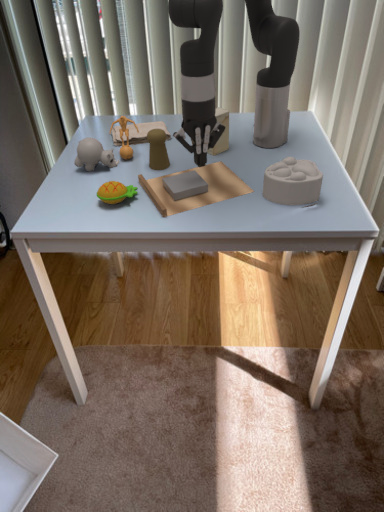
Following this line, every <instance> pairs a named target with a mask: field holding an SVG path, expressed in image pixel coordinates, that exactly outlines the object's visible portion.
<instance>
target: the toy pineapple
mask: <svg viewBox="0 0 384 512" xmlns="http://www.w3.org/2000/svg"><path fill="white" fill-rule="evenodd" d="M138 189H139V188H138V187H137V186H134V185H133V184H130V185H127V186H126V185H125V184H124V183H122V182H120V181H116V180H109V181H107V182H105V183H104V182H103V184H101V185H100V186H99V187H98V189H97V192H96V197H97V198H98V199H99V200H100V201H101V202H103V203H105V204H107V205H108V204H110V205H117V204H118V203H121V202H123V201H125V199H126V198H133V196H135V195H138Z"/></svg>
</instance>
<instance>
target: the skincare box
mask: <svg viewBox="0 0 384 512" xmlns="http://www.w3.org/2000/svg"><path fill="white" fill-rule="evenodd" d="M215 117H216V119H217V122H220V123H221V124H223V125H224V126H225V130H224V132H223V133H222V135H221V137H220V138H219V140H218V141H217V143H216V145H215V146H214V148H210V149H208V151H207V154H209V155H212V156H217V155H219V154H221V153H223V152H226V151H227V150H229V149H230V148H229V147H230V146H229V145H230V144H229V143H230V110H228V109H225V108H222V107H216V113H215ZM212 131H213V130H212Z"/></svg>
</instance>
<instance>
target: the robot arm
mask: <svg viewBox="0 0 384 512" xmlns="http://www.w3.org/2000/svg"><path fill="white" fill-rule="evenodd" d="M244 3H245V6H246V7H245V8H246V12H247V19H248V24H249V30H250V35H251V36H250V37H251V40H252V44H253V46H254V48H255V49H256V51H257V52H258V53H260V54H263V55H265V56H270V62H269V66H268V67H264V68H261V69H260V70H259V71H258V72H257V74H256V82H255V83H256V85H255V102H254V103H255V104H254V105H255V106H254V119H253V121H254V122H253V135H252V137H253V139H252V142H253V144H254V145H256V146H258V147H260V148H264V149H275V148H279V147H281V146H282V145H284V144H285V143H287V142H288V136H289V126H290V117H291V110H290V109H289V101H290V100H289V99H290V90H291V82H292V77H293V74H294V71H295V69H296V62H297V56H298V50H299V44H300V26H299V23H298V21H297V20H296V19H295V18H292V17H289V16H288V17H287V16H282V15H278V14H276V13H275V11H274V8H273V5H272V0H244ZM223 10H224V2H223V0H167V12H168V17H169V19H170V21H171V23H172V24H173V25H174V26H176V27H177V28H183V29H184V28H185V29H187V28H188V29H200V34H199V37H198V38H194V39H190V40H186V41H184V42H182V43H181V45H180V48H179V57H180V59H179V60H180V98H181V114H182V121H181V125H180V129H179V130H178V131H175V132H173V134H172V136H173V137H174V138H175V139H176V140H177V141H178V142H179V143H180V145H182V147H184V148H185V149H186V151H188V152H189V153H190V154H193V161H194V164H195V165H196V166H197V167H203V166H205V165H207V163H208V153H207V151H208V149H210V148H214V146H215V145H216V143H217V141H218V140H219V138H220V137H221V135H222V133H223V132H224V130H225V126H224V125H223V124H221V123H220V122H217V119H216V117H215V113H216V108H217V107H216V106H217V105H216V92H217V87H216V78H215V47H216V41H217V37H218V33H219V27H220V23H221V19H222V15H223ZM212 130H213V131H212ZM186 134H187V136H188V137H189V138H190V142H191V144H190V143H189V142H188V141H186Z"/></svg>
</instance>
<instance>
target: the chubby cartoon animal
mask: <svg viewBox="0 0 384 512" xmlns="http://www.w3.org/2000/svg"><path fill="white" fill-rule="evenodd" d="M114 150H115V149H114V148H111V149H107V150H106V149H104V146H103V144H102V142H101V141H99V139H96V138H94V137H85V138H83V139H80V140H79V141H78V143H77V146H76V154H77V155H76V157H75V158H74V161H73V164H74V166H75V167H77V168H83V167H84V168H85V169H84V170H86V171H87V172H93V171H94V170H95V167H96V166H98V164H99V163H101V164H102V165H103V166H107V167H108V168H109V169H112V168H116V167H118V166H119V164H120V159H116V158H115V154H114Z"/></svg>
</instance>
